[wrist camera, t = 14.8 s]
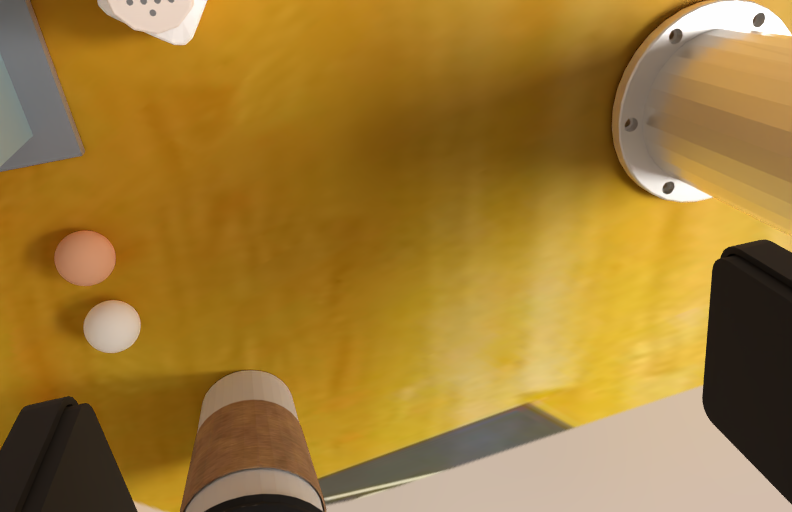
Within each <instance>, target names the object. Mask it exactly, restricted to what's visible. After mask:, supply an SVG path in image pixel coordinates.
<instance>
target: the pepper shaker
mask: <svg viewBox="0 0 792 512" xmlns="http://www.w3.org/2000/svg"><path fill="white" fill-rule="evenodd" d="M97 1H98V6H99V7H100V8H101V9H102V10H103V11H104V12H105V13H106V14H107V15H109V16H111V17H113V18H115V19H117V20H119V21H121V22H123V23H125V24H127V25H128V26H129V27H130V28H132V29H133V30H136V31H142V32H145V33H147V34H149V35H152V36H154V37H156V38H159V39H161V40H163V41H166V42H168V43H171V44H173V45H186V44H187V43H188V42H189V41H190V40H191V39H192V38H193V36H194V34H195V31H196V29H197V26H198V23H199V21H200V18H201V16H202V13H203V10H204V8H205V5H206V2H207V0H97Z"/></svg>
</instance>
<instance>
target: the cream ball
mask: <svg viewBox="0 0 792 512" xmlns="http://www.w3.org/2000/svg"><path fill="white" fill-rule="evenodd" d="M140 329H141V322H140V318H139V315H138V313H137V312H136V310H135V309H134V308H133V307H132V306H130V305H129V304H127V303H125V302H123V301H118V300H109V301H104V302H101V303H99V304H97V305H96V306H94V307H93V308H92V309H91V310H90V311H89V313H88V314H87V316H86V318H85V321H84V334H85V337H86V339H87V341H88V342H89V344H90V345H91V346H93V347H94V348H95V349H97V350H99V351H102V352H106V353H116V352H120V351H123V350H125V349H127V348H129V347H130V346H131V345H132V344H133V343H134V342H135V341H136V339H137V338H138V336H139V333H140Z"/></svg>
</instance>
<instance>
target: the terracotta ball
mask: <svg viewBox="0 0 792 512" xmlns="http://www.w3.org/2000/svg"><path fill="white" fill-rule="evenodd" d="M54 259H55V265H56V268H57V270H58V272H59V274H60V275H61V276H62V277H63V278H64V279H65V280H67V281H68V282H70V283H72V284H75V285H80V286H91V285H95V284H98V283H100V282H102V281H103V280H105V279H106V278H107V277H108V276H109V275H110V274H111V272H112V271H113V269H114V266H115V262H116V255H115V250H114V248H113V246H112V244H111V243H110V241H109V240H108V239H107V238H106V237H104V236H103V235H101V234H99V233H97V232H93V231H87V230H85V231H77V232H74V233H71V234H69V235H68V236H66V237H65V238H64V239H63V240H62V241H61V242H60V243H59V244H58V246H57V248H56V251H55V257H54Z"/></svg>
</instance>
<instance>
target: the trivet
mask: <svg viewBox="0 0 792 512" xmlns="http://www.w3.org/2000/svg"><path fill="white" fill-rule="evenodd" d="M0 54H1V56H2V59H3V61H4V64H5V66H6V69H7V71H8V74H9V76H10V79H11V81H12V84H13V86H14V89H15V91H16V94H17V96H18V99H19V101H20V104H21V106H22V109H23V111H24V114H25V116H26V119H27V121H28V124H29V126H30V129H31V131H32V134H33V136H32V137H31V138H30V139H29V140H28V141H27V142H26V143H25V144H24V145H23V146H22V147H21V148H20V149H19V150H17V151H16V152H15V153H14V154H13V155H12V156H11V157H10V158H9V159H8V160H7V161H6V162H5V163H4V164H3V165H2V166H1V167H0V172H2V171H7V170H12V169H17V168H22V167H27V166H32V165H37V164H42V163H48V162H53V161H58V160H63V159H68V158H73V157H78V156H82V155H83V154H84V153H85V149H84V147H83V144H82V141H81V138H80V136H79V133H78V130H77V128H76V125H75V122H74V119H73V117H72V114H71V111H70V108H69V106H68V103H67V100H66V97H65V95H64V92H63V89H62V87H61V84H60V81H59V78H58V76H57V73H56V70H55V67H54V65H53V62H52V59H51V56H50V54H49V51H48V48H47V46H46V43H45V40H44V37H43V35H42V32H41V29H40V26H39V24H38V21H37V18H36V15H35V13H34V10H33V7H32V4H31V2H30V0H0Z"/></svg>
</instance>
